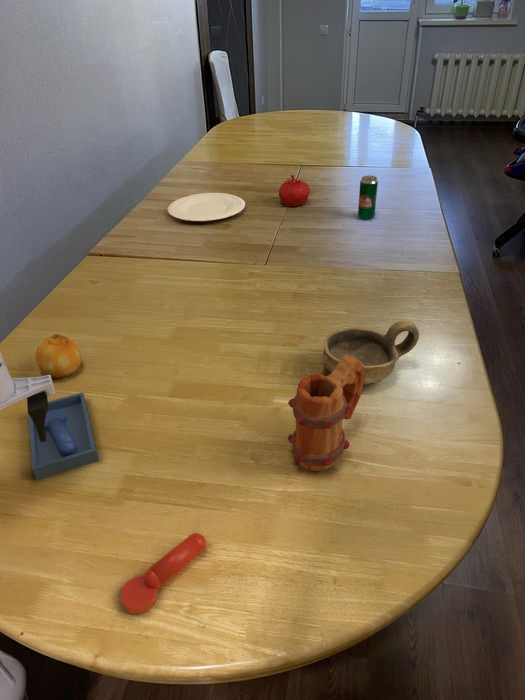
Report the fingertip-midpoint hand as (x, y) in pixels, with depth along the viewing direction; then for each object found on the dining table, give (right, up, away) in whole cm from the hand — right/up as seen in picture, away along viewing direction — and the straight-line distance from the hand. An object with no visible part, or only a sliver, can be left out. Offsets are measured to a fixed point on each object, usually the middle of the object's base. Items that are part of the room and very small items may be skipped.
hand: (13, 445), depth 70 cm
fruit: (-5, +9, +29) cm, 31 cm away
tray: (+1, -1, +14) cm, 14 cm away
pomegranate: (+44, +61, +99) cm, 124 cm away
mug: (+44, -2, +10) cm, 45 cm away
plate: (+16, +58, +96) cm, 113 cm away
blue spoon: (+1, -1, +14) cm, 14 cm away
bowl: (+53, +9, +26) cm, 60 cm away
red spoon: (+22, -15, -7) cm, 27 cm away
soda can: (+66, +53, +87) cm, 121 cm away
